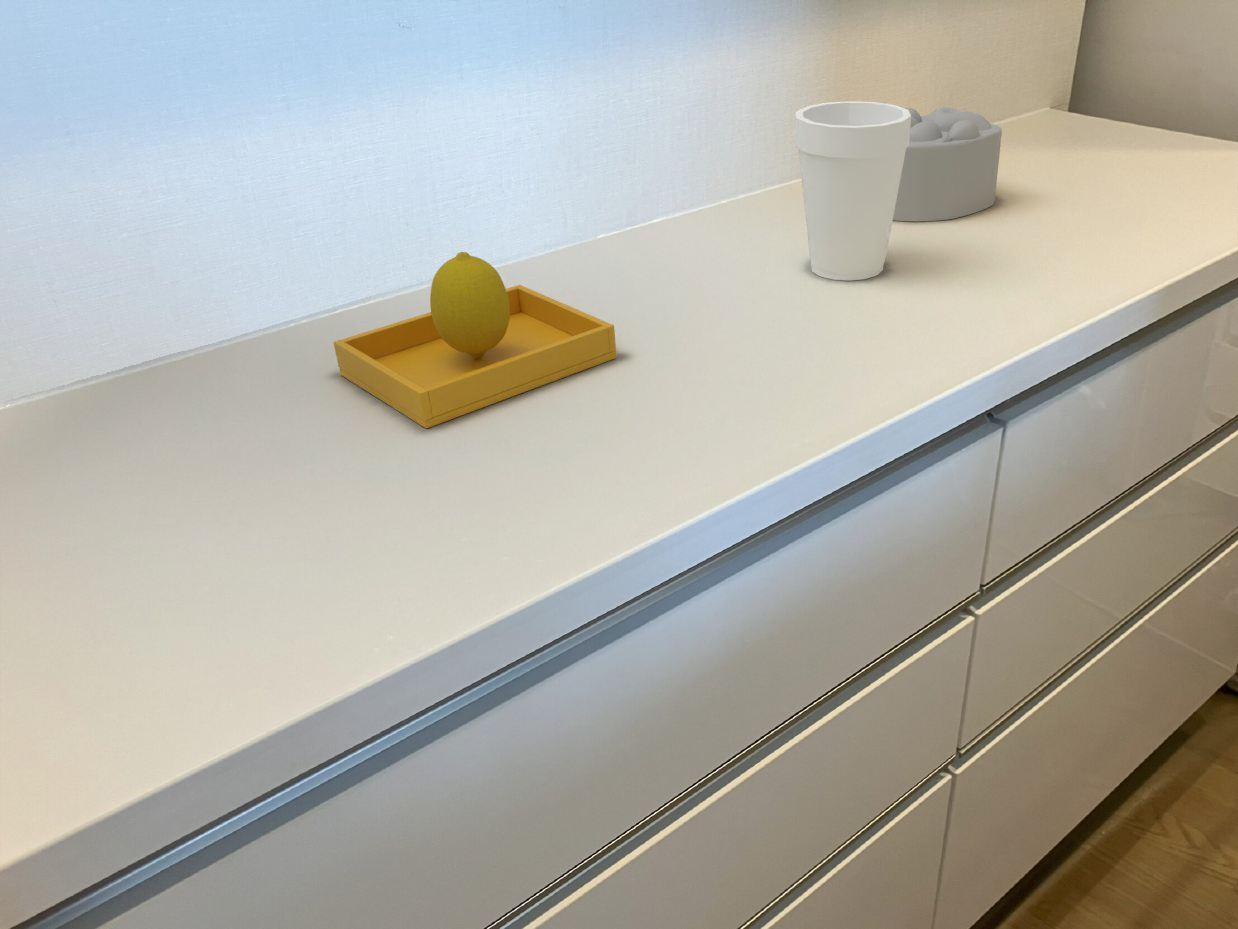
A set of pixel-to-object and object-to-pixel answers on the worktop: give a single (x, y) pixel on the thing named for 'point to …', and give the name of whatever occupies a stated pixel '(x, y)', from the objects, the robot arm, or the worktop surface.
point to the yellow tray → (456, 382)
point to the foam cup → (850, 183)
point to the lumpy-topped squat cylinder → (948, 166)
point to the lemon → (469, 305)
